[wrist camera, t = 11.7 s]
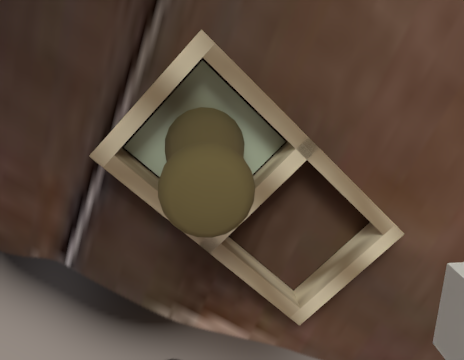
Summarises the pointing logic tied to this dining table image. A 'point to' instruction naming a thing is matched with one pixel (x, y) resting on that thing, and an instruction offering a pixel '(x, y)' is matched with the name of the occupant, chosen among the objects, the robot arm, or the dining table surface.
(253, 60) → the dining table surface
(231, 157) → the olive condiment shaker
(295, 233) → the dining table surface
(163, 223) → the dining table surface
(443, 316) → the robot arm
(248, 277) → the condiment rack
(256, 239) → the dining table surface
